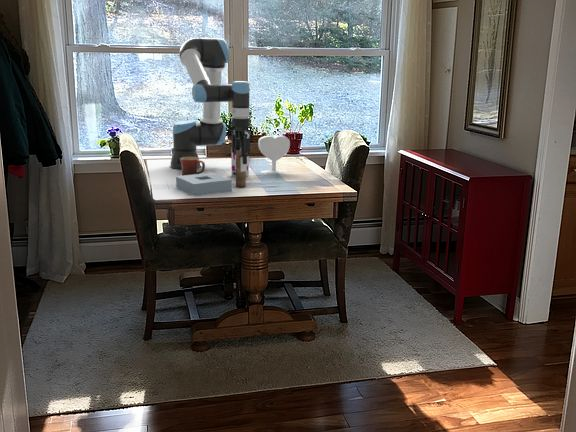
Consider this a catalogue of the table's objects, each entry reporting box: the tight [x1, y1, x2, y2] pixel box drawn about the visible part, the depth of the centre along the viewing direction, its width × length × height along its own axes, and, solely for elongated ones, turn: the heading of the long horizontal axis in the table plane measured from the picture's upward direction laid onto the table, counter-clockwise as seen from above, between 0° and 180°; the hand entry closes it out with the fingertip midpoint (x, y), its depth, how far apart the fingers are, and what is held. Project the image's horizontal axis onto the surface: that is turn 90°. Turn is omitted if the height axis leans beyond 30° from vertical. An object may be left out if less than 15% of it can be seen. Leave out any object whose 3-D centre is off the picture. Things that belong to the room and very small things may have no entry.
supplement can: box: [230, 147, 250, 178], centre depth 296 cm, size 8×8×15 cm
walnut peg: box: [235, 150, 247, 188], centre depth 274 cm, size 4×4×16 cm
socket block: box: [175, 172, 233, 197], centre depth 269 cm, size 18×18×5 cm
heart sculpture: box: [257, 135, 291, 174], centre depth 307 cm, size 16×5×18 cm, turn 104°
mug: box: [180, 156, 206, 176], centre depth 285 cm, size 12×9×10 cm
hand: (240, 170), depth 274 cm, fingers closed on walnut peg, 4 cm apart
